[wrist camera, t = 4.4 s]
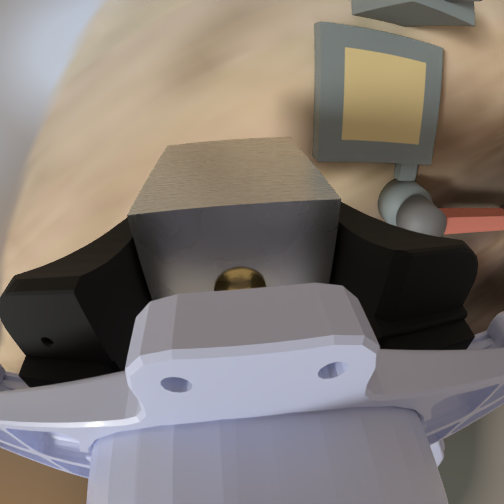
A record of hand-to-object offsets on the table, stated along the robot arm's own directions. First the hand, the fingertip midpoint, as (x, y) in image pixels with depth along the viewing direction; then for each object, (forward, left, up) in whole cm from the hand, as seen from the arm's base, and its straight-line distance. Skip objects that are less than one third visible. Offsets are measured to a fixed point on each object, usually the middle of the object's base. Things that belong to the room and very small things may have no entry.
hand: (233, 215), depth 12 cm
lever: (-4, -18, -6) cm, 20 cm away
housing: (0, 0, -2) cm, 2 cm away
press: (+4, -10, -8) cm, 14 cm away
